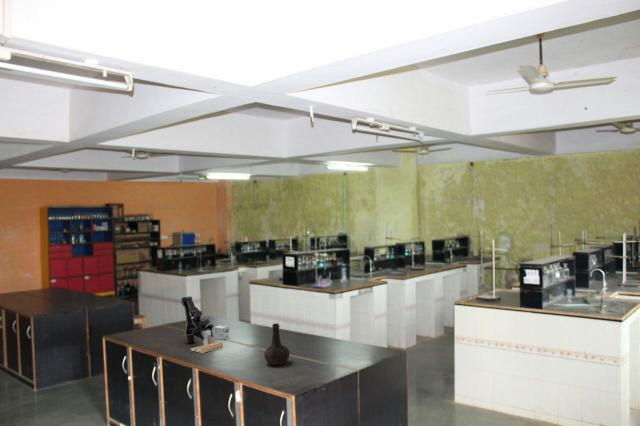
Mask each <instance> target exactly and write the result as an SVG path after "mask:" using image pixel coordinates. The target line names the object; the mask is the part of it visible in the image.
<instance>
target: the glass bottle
mask: <svg viewBox="0 0 640 426" xmlns="http://www.w3.org/2000/svg"><path fill="white" fill-rule="evenodd" d="M280 327H281V326H280V324H279V323H272V326H271V328H272V338H271V343H270V346H269V347H267V348H266V350H265V351H264V355H263V356H264V359H265V361H266V363H268V364H269V365H271V366H281V365H283V364H285V363H287V361H288V360H289V359H290V350H289V348H288V347H287V346H285V345H282V343H281V337H280Z"/></svg>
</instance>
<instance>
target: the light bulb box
mask: <svg viewBox="0 0 640 426" xmlns="http://www.w3.org/2000/svg"><path fill="white" fill-rule="evenodd" d="M214 338H219V339H226V340H228V339H227V338H229V339H230V326H229V325H217V326H215V327H214Z"/></svg>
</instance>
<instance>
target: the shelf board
mask: <svg viewBox="0 0 640 426" xmlns="http://www.w3.org/2000/svg"><path fill="white" fill-rule="evenodd" d="M212 344H214V343H212V342H211V345H212ZM201 347H204V344H203V345H198V346H195V347H194V346H193V347H190V348H189V351H190V350H192V351H196V352H199V353H204V352H207V351H211V350H215V349H219V348H222V347H223V348H224V345H223V346H220V347H217V348H213V349H209V350H206V351H202V352H201ZM223 348H222V349H223ZM219 350H220V349H219ZM192 351H191V352H192ZM215 351H216V350H215ZM196 352H195V353H196ZM211 352H212V351H211ZM199 353H198V354H199ZM204 354H205V353H204Z"/></svg>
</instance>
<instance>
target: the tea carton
mask: <svg viewBox="0 0 640 426" xmlns="http://www.w3.org/2000/svg"><path fill="white" fill-rule="evenodd" d="M202 335H203V337H204V340H203V339H202V340H203V341H202V342H203V345H204V347H205V346H208V345H211V343H212V337H211V331H209V330H204V331H202Z"/></svg>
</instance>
